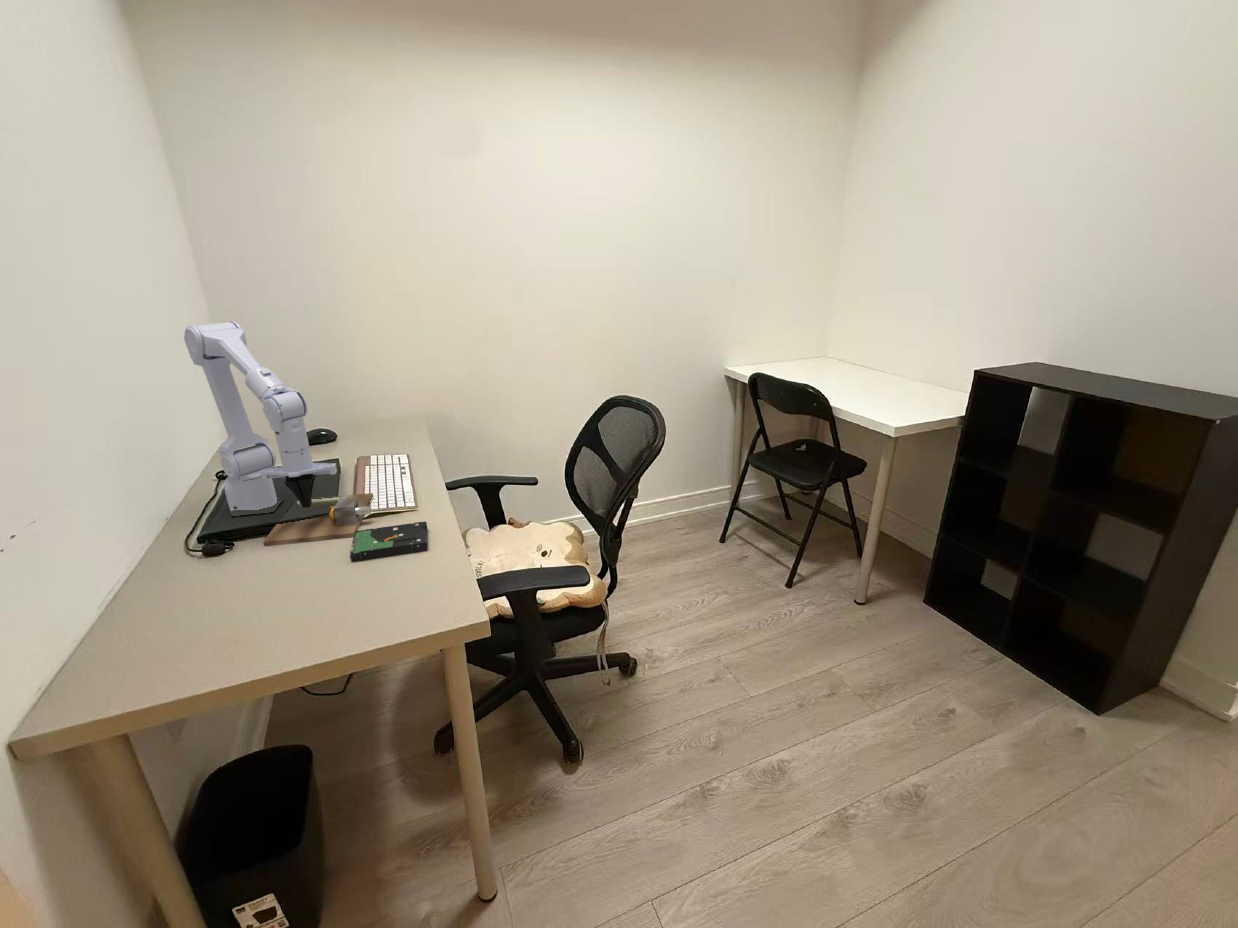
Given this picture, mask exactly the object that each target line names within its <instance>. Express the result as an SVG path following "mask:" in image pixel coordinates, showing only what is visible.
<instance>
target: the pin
mask: <svg viewBox="0 0 1238 928" xmlns="http://www.w3.org/2000/svg"><path fill="white" fill-rule="evenodd" d="M334 507H335V506H330V508H329V518H330V520H331V521H336V519H335V514H334V510H333V508H334ZM354 509H355V514H356V515H364V514H365V515H371V513H372V510H371V506H370V505H369V506H365V507H355V508H354ZM365 515H364V516H365Z"/></svg>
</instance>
